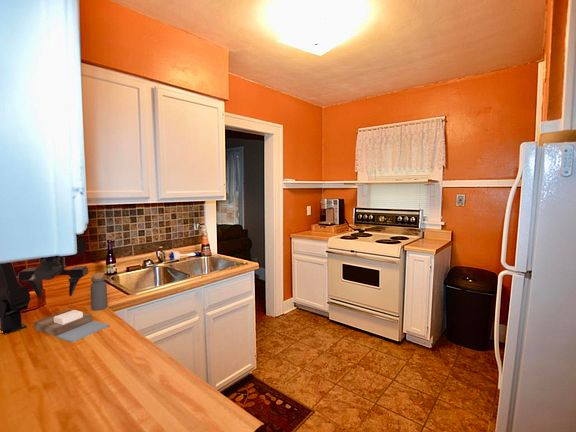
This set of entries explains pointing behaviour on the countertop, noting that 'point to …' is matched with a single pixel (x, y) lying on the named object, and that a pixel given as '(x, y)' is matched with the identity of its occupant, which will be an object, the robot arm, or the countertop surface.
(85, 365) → the countertop surface
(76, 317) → the pale pink rectangular block
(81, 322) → the step
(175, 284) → the countertop surface
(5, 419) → the countertop surface
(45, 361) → the countertop surface
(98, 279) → the bottle
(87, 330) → the mat
